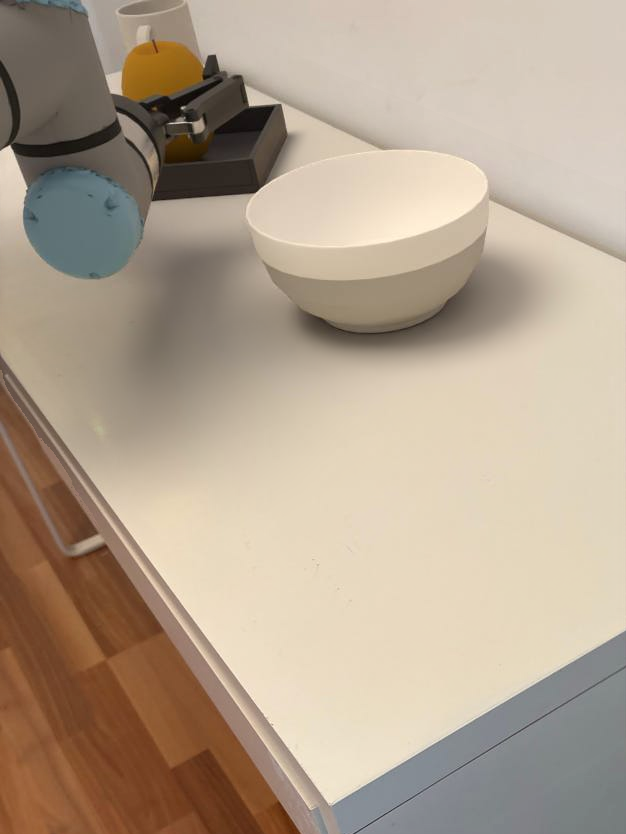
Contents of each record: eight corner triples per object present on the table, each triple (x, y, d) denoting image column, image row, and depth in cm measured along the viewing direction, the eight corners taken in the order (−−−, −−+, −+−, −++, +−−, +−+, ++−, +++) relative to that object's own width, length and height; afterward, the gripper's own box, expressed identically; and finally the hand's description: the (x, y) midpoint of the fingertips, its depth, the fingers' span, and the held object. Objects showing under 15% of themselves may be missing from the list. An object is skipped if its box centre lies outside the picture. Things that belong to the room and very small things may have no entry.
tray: (81, 206, 102) (69, 173, 100) (127, 147, 114) (117, 117, 112) (260, 192, 101) (252, 158, 99) (287, 134, 113) (281, 103, 111)
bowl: (224, 333, 80) (193, 226, 73) (357, 239, 90) (340, 139, 84) (417, 379, 72) (400, 264, 66) (537, 271, 83) (532, 163, 77)
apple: (250, 152, 107) (221, 30, 99) (183, 183, 102) (147, 57, 94) (191, 140, 112) (159, 22, 104) (125, 169, 107) (85, 48, 99)
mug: (180, 80, 132) (157, -7, 125) (226, 88, 128) (204, -1, 121) (115, 104, 127) (87, 16, 120) (160, 114, 122) (134, 23, 115)
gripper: (-25, 224, 80) (29, 137, 95) (277, 186, 81) (283, 106, 96) (-68, 126, 75) (-4, 50, 90) (255, 87, 76) (265, 18, 91)
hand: (144, 79), depth 93 cm, fingers open, 13 cm apart
